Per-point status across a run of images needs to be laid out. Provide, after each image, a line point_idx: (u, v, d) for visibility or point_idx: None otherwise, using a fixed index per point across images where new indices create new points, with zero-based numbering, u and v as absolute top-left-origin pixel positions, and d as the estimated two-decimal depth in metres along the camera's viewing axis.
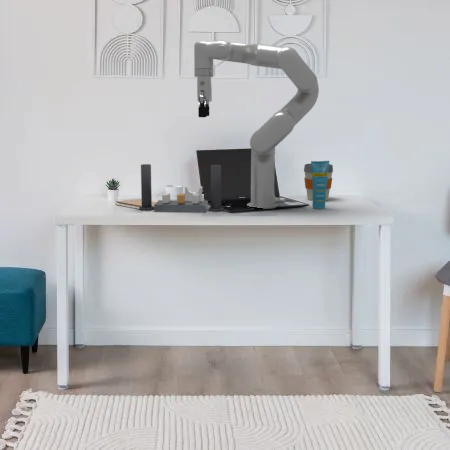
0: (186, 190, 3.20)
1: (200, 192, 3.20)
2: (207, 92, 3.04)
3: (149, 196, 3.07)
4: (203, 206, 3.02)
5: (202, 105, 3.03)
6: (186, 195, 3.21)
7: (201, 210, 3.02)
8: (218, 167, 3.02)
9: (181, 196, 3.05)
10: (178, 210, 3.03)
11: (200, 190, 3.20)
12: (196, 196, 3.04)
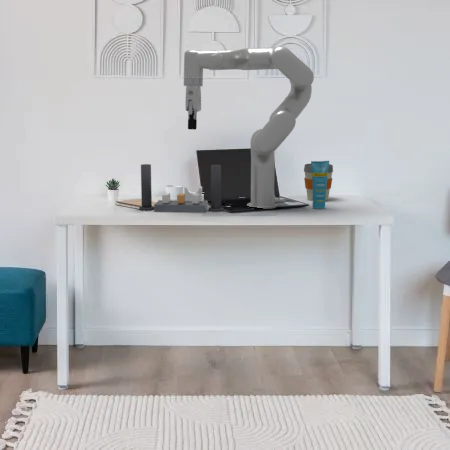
0: (186, 190, 3.20)
1: (200, 192, 3.20)
2: (195, 102, 3.00)
3: (149, 196, 3.07)
4: (203, 206, 3.02)
5: (191, 117, 3.04)
6: (185, 195, 3.20)
7: (201, 210, 3.02)
8: (218, 167, 3.02)
9: (181, 196, 3.05)
10: (178, 210, 3.03)
11: (200, 190, 3.19)
12: (196, 196, 3.04)
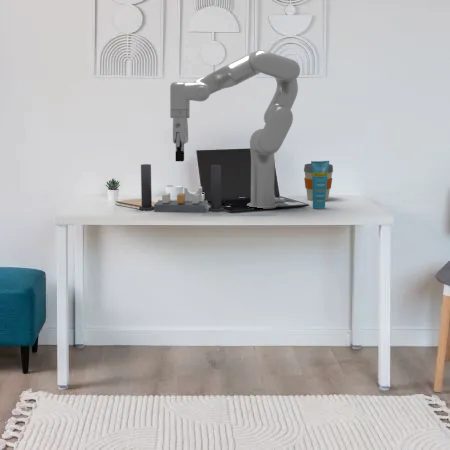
0: (186, 190, 3.20)
1: (200, 192, 3.19)
2: (183, 134, 2.97)
3: (149, 196, 3.07)
4: (203, 206, 3.02)
5: (179, 149, 3.02)
6: (185, 195, 3.20)
7: (201, 210, 3.02)
8: (218, 167, 3.02)
9: (181, 196, 3.05)
10: (178, 210, 3.03)
11: (200, 190, 3.19)
12: (196, 196, 3.04)
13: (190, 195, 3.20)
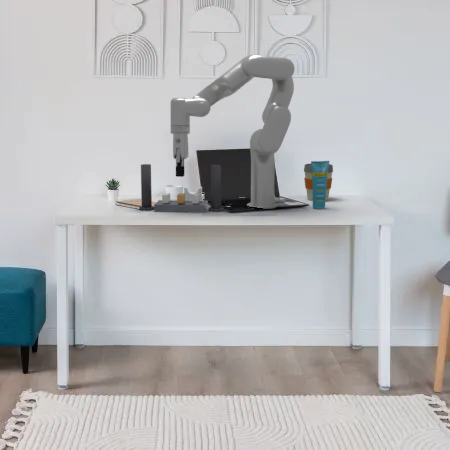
0: (185, 190, 3.19)
1: (199, 192, 3.19)
2: (183, 149, 2.99)
3: (149, 196, 3.07)
4: (203, 206, 3.02)
5: (179, 165, 3.03)
6: (185, 195, 3.20)
7: (201, 210, 3.02)
8: (218, 167, 3.02)
9: (181, 196, 3.05)
10: (178, 210, 3.03)
11: (199, 190, 3.19)
12: (196, 196, 3.04)
13: (190, 195, 3.20)
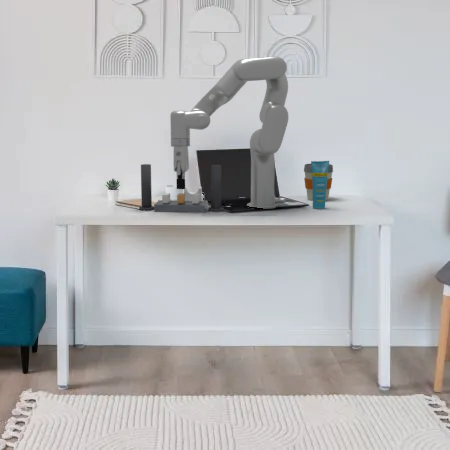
0: (185, 190, 3.19)
1: (199, 192, 3.19)
2: (183, 162, 2.99)
3: (149, 196, 3.07)
4: (203, 206, 3.02)
5: (180, 177, 3.03)
6: (185, 195, 3.19)
7: (201, 210, 3.02)
8: (218, 167, 3.02)
9: (181, 196, 3.05)
10: (178, 210, 3.03)
11: (199, 190, 3.19)
12: (196, 196, 3.04)
13: (190, 195, 3.19)
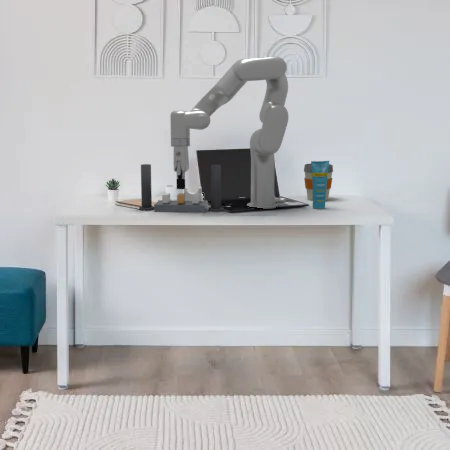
0: (185, 191, 3.19)
1: (199, 193, 3.19)
2: (183, 162, 2.99)
3: (149, 196, 3.07)
4: (203, 206, 3.02)
5: (180, 177, 3.03)
6: (185, 195, 3.19)
7: (201, 210, 3.02)
8: (218, 167, 3.02)
9: (181, 196, 3.05)
10: (178, 210, 3.03)
11: (199, 191, 3.18)
12: (196, 196, 3.04)
13: (190, 195, 3.19)
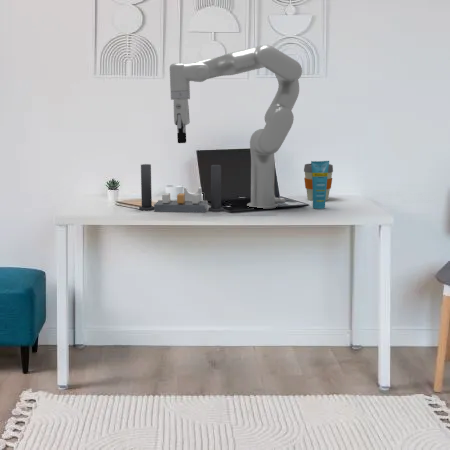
0: (185, 191, 3.18)
1: (199, 193, 3.18)
2: (184, 115, 2.96)
3: (149, 196, 3.07)
4: (203, 206, 3.02)
5: (181, 131, 3.00)
6: None
7: (201, 210, 3.02)
8: (218, 167, 3.02)
9: (181, 196, 3.05)
10: (178, 210, 3.03)
11: (199, 191, 3.18)
12: (196, 196, 3.04)
13: (189, 195, 3.19)
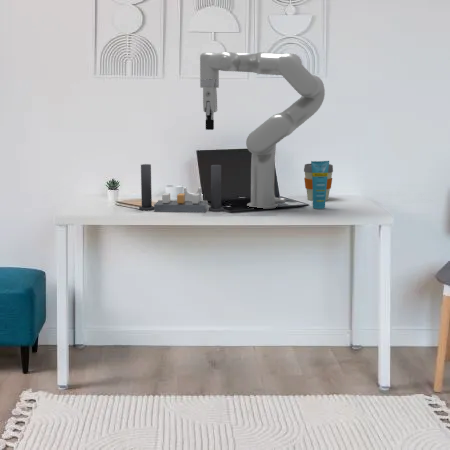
0: (185, 191, 3.18)
1: (199, 193, 3.18)
2: (213, 103, 3.08)
3: (149, 196, 3.07)
4: (203, 206, 3.02)
5: (209, 118, 3.12)
6: None
7: (201, 210, 3.02)
8: (218, 167, 3.02)
9: (181, 196, 3.05)
10: (178, 210, 3.03)
11: (199, 191, 3.18)
12: (196, 196, 3.04)
13: (189, 196, 3.18)
